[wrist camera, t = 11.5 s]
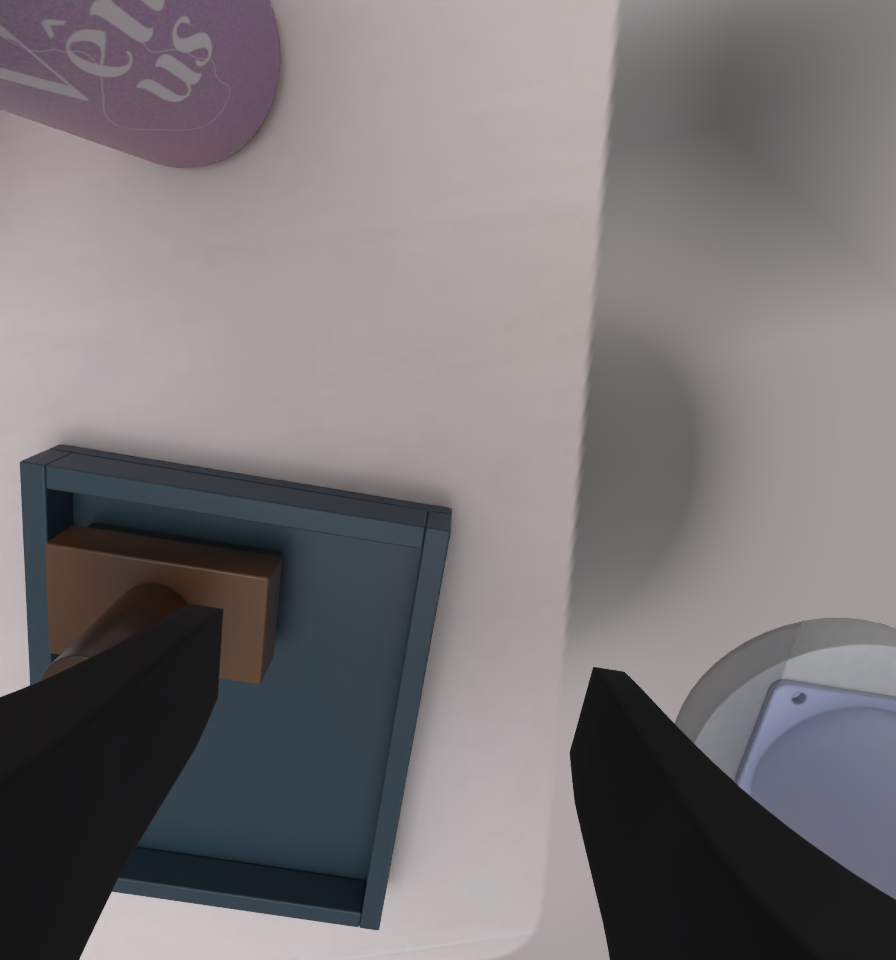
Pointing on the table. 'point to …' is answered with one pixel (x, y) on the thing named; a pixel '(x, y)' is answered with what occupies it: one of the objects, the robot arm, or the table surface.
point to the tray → (274, 681)
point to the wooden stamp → (158, 593)
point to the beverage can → (143, 72)
